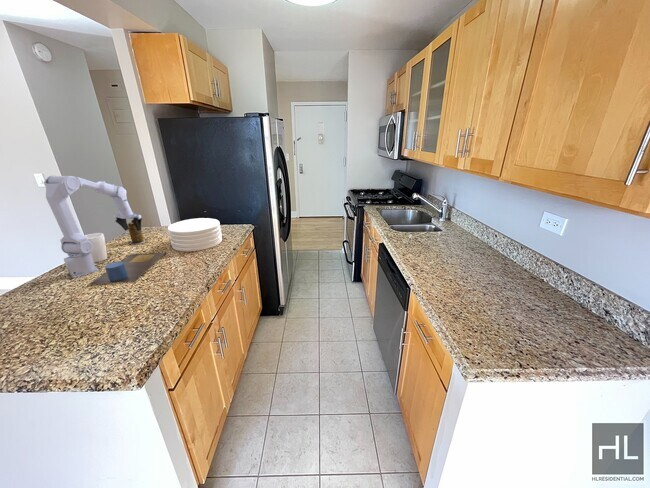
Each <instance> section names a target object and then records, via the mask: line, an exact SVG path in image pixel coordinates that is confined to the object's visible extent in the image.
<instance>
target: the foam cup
mask: <svg viewBox="0 0 650 488" xmlns="http://www.w3.org/2000/svg"><path fill="white" fill-rule="evenodd" d="M83 235H84V236H85V237H87V239H88V241H89V242H91V244H92V246H93V249H92V251H91V256H92V259H93V261H94V263H99V262H103V261H105V260H107V259H108V254H107V253H108V252H107V246H106V241H105V240H106V237H105V234H104V233H102V232H94V233H88V234H83Z"/></svg>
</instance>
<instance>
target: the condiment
mask: <svg viewBox="0 0 650 488" xmlns="http://www.w3.org/2000/svg"><path fill="white" fill-rule="evenodd" d="M127 225H128V227H129V229H128V230H127V231H128V233H129V236H130V239H131V240H130V245H131V246H132V245H133V246H135V245H141V244H145V243H146V240H145V238H144V236H143V231H142V229H141V230H140V231H138V230H137V228H136V226H135V225H134V224H133V222H131V221H130V222H127Z"/></svg>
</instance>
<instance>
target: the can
mask: <svg viewBox="0 0 650 488" xmlns="http://www.w3.org/2000/svg"><path fill="white" fill-rule="evenodd" d="M104 269H105V273H106V272H107V275H108V278H109V280H110V281H119V280H122V279H124V278H126V277H127V272H126V269H125V266H124V263H123V262H121V261H114V262H110V263H107V264H106V265H105V266H104Z"/></svg>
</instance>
